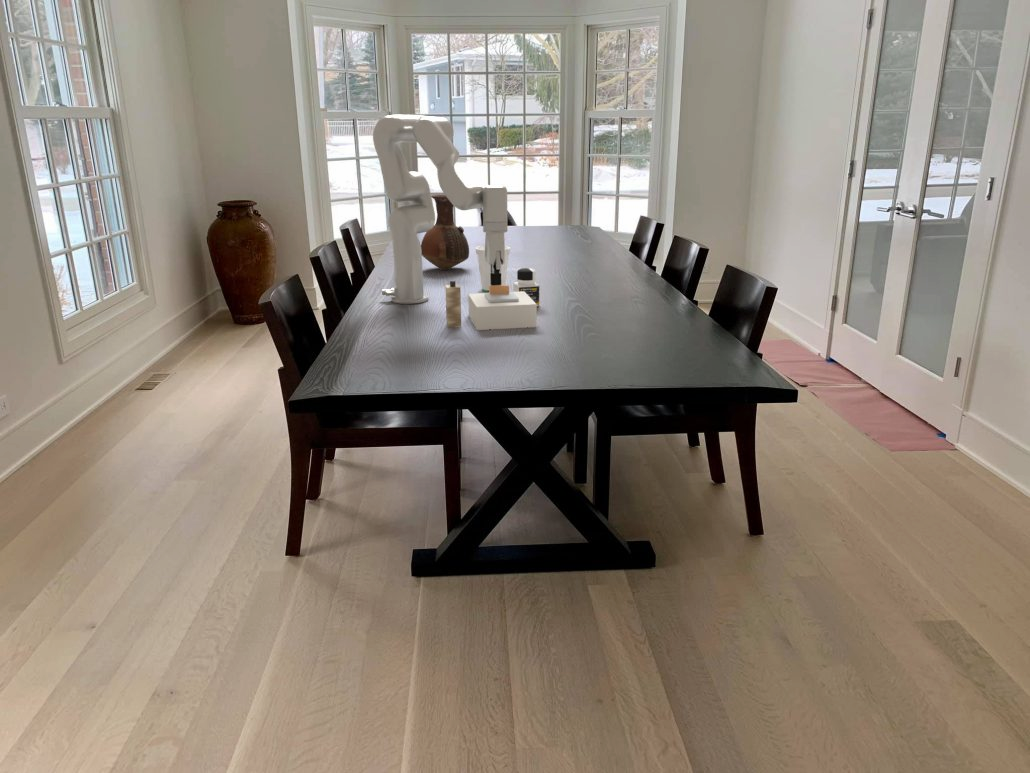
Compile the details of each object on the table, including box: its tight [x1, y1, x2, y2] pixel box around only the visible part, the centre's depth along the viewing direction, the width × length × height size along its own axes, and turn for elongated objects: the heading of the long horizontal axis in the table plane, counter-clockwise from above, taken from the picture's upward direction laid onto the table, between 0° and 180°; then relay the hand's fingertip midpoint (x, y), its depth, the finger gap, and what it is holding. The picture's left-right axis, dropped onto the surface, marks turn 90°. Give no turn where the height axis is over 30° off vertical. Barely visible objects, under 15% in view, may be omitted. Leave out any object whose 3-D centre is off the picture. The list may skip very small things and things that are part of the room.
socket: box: [467, 291, 538, 331], centre depth 231 cm, size 18×18×7 cm
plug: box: [445, 280, 462, 328], centre depth 225 cm, size 4×4×14 cm
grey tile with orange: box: [484, 284, 519, 303], centre depth 229 cm, size 9×9×3 cm
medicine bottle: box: [512, 267, 540, 306], centre depth 250 cm, size 7×7×12 cm
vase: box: [420, 194, 470, 271], centre depth 306 cm, size 25×20×30 cm
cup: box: [475, 245, 511, 292], centre depth 272 cm, size 12×12×15 cm
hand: (495, 285), depth 238 cm, fingers closed
